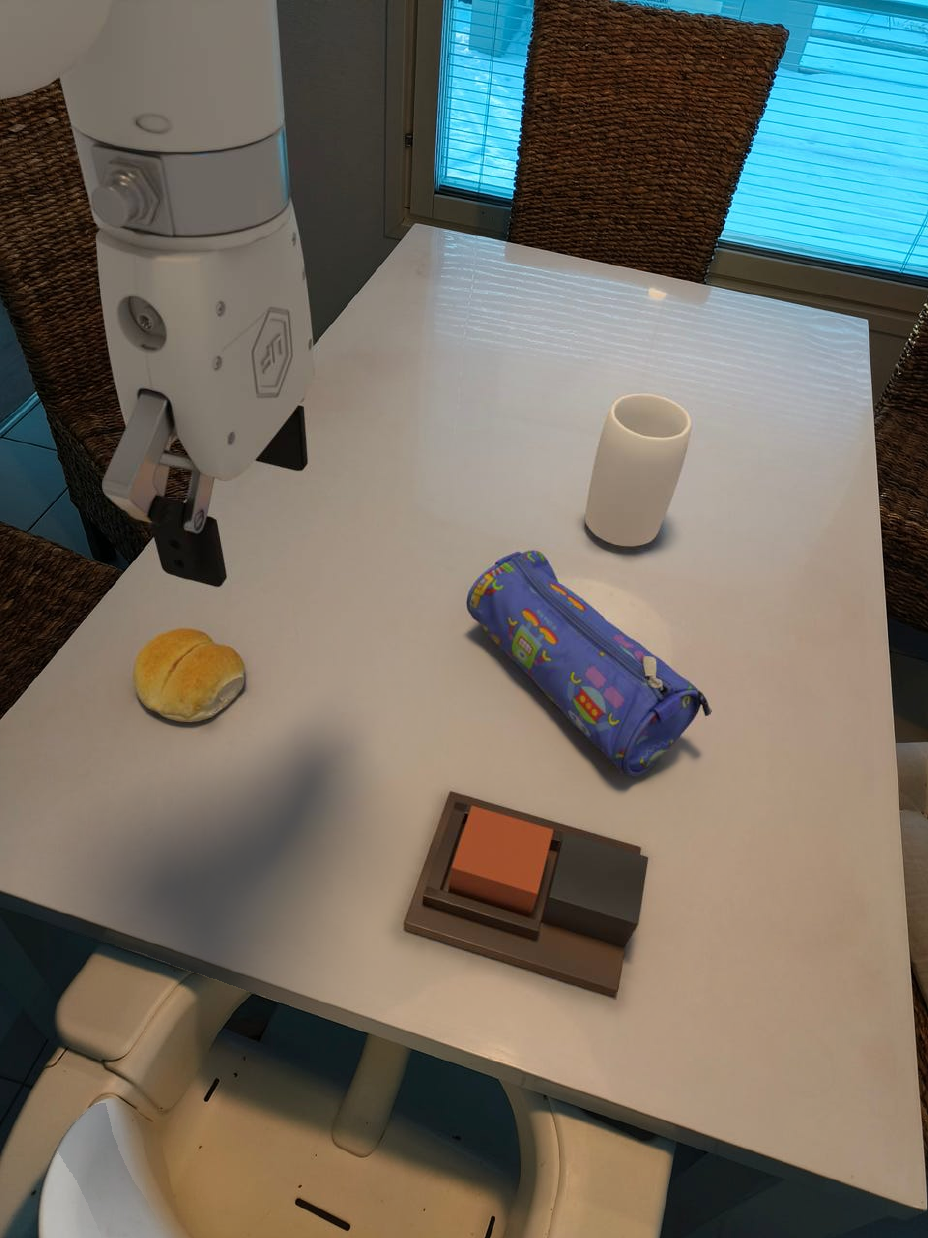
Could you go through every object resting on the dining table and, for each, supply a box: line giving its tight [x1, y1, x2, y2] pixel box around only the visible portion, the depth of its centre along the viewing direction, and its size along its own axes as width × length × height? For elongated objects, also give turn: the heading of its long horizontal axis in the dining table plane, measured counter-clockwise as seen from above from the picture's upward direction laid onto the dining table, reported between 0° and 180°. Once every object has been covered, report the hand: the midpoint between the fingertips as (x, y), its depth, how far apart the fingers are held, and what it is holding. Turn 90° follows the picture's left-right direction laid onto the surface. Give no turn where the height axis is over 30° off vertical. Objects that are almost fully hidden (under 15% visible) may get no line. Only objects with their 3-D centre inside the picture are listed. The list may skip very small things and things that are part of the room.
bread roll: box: [132, 627, 245, 723], centre depth 71 cm, size 8×9×4 cm
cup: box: [584, 393, 693, 547], centre depth 85 cm, size 8×8×14 cm
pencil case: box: [465, 549, 713, 776], centre depth 71 cm, size 22×9×10 cm, turn 37°
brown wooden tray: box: [403, 790, 649, 997], centre depth 60 cm, size 11×15×5 cm
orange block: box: [448, 806, 553, 918], centre depth 60 cm, size 5×6×4 cm
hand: (240, 515), depth 45 cm, fingers open, 9 cm apart
